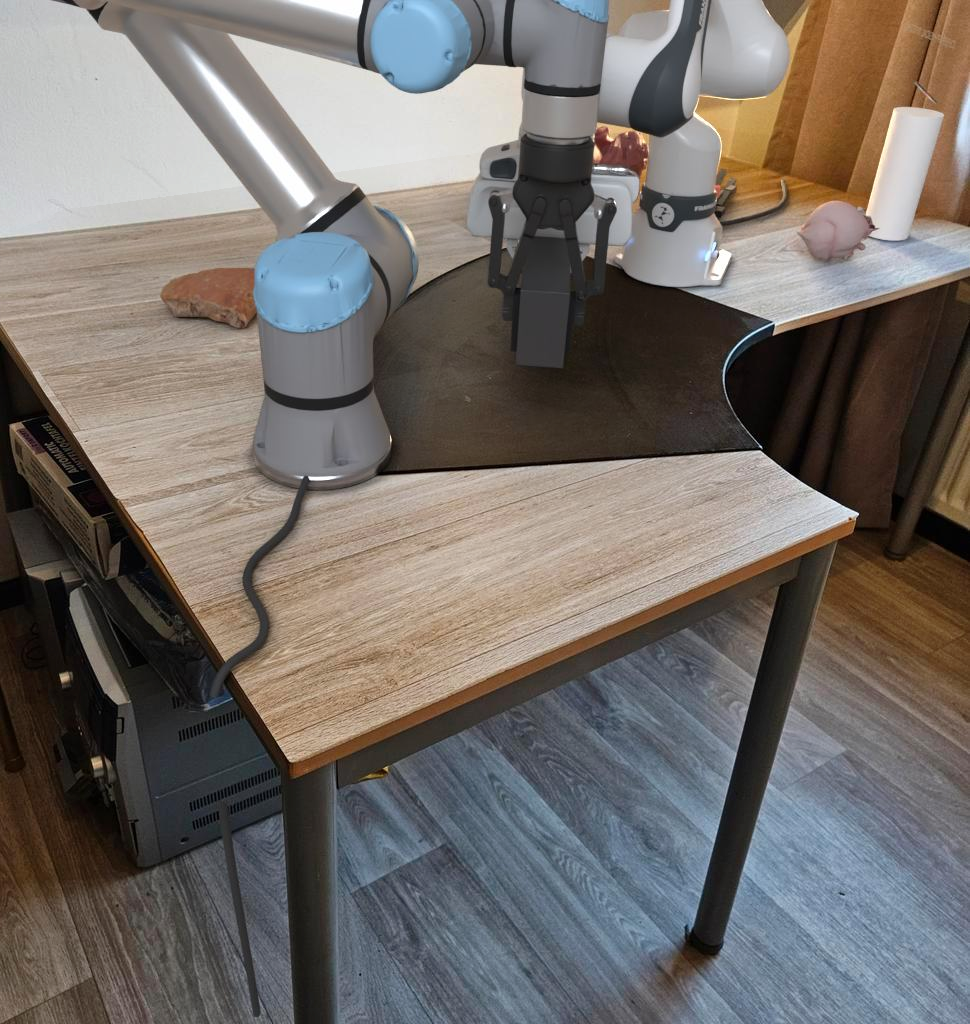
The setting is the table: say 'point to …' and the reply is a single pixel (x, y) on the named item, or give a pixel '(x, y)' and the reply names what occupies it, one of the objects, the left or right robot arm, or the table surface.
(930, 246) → the table surface
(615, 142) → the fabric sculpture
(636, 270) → the right robot arm
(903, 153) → the tall white tube
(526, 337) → the bar
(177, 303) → the ceramic shard
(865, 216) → the toy
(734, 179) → the toy
